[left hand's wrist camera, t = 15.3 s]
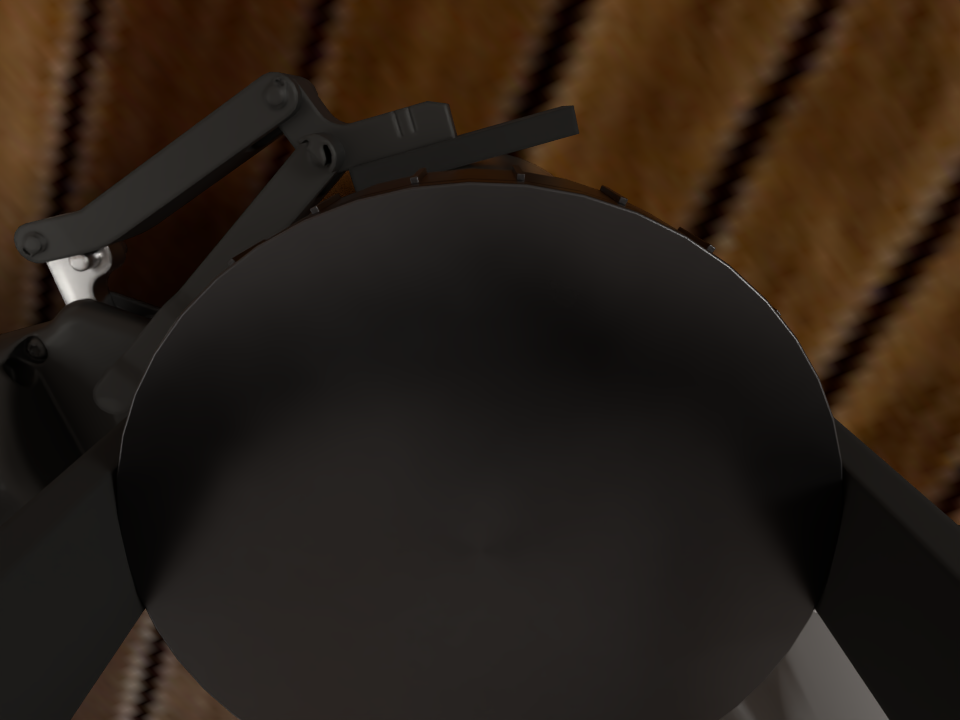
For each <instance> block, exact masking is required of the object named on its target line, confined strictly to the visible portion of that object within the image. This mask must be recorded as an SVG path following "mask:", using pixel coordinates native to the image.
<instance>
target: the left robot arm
mask: <svg viewBox="0 0 960 720" xmlns="http://www.w3.org/2000/svg"><path fill="white" fill-rule="evenodd" d="M833 418H834V417H833ZM126 420H127V417H126V418H125V419H123V420H122V421H121V422H120V423H119V424H118V425H116V426H115V427H114V428H113V429H112V430H111V431H110V432H108V433H107V434H106V435H105V436H104V437H103V438H102V439H100V440H99V441H98V442H97V443H96V444H95V445H93V446H92V447H91V448H90V449H89V450H88V451H87V452H85V453H84V454H83V455H82V456H81V457H80V458H78V459H77V460H76V461H75V462H74V463H73V464H72V465H70V466H69V467H68V468H67V469H66V470H65V471H64V472H62V473H61V474H60V475H59V476H58V477H57V478H55V479H54V480H53V481H52V482H51V483H50V484H49V485H47V486H46V487H45V488H44V489H43V490H42V491H40V492H39V493H38V494H37V495H36V496H35V497H34V498H32V499H31V500H30V501H29V502H28V503H27V504H26V505H24V506H23V507H22V508H21V509H20V510H19V511H17V512H16V513H15V514H14V515H13V516H12V517H11V518H9V519H8V520H7V521H6V522H5V523H4V524H2V525H1V526H0V720H71V718H72V717H73V715H74V714H75V712H76V711H77V709H78V708H79V706H80V705H81V703H82V702H83V700H84V699H85V697H86V696H87V694H88V693H89V691H90V690H91V688H92V687H93V685H94V684H95V682H96V681H97V679H98V678H99V677H100V675H101V674H102V672H103V671H104V669H105V668H106V666H107V665H108V663H109V662H110V660H111V659H112V657H113V656H114V654H115V653H116V651H117V650H118V648H119V647H120V645H121V644H122V642H123V641H124V639H125V638H126V636H127V635H128V633H129V632H130V630H131V629H132V627H133V626H134V624H135V623H136V621H137V620H138V618H139V617H140V615H141V614H142V612H143V611H144V609H145V606H144V604H143V602H142V600H141V598H140V596H139V595H138V592H137V589H136V586H135V583H134V580H133V578H132V575H131V572H130V569H129V565H128V561H127V558H126V553H125V549H124V544H123V540H122V535H121V531H120V526H119V521H118V503H117V471H118V463H119V455H120V447H121V439H122V433H123V430H124V426H125V423H126ZM834 421H835V427H836V432H837V437H838V443H839V448H840V453H841V459H842V475H843V509H842V517H841V524H840V531H839V536H838V540H837V545H836V549H835V553H834V557H833V561H832V565H831V569H830V573H829V576H828V580H827V582H826V585H825V587H824V589H823V591H822V593H821V596H820V598H819V600H818V602H817V604H816V607H815V609H814V611H813V613H812V615H811V617H810V619H809V621H808V622H807V624H806V625H805V627H804V629H803V630H802V632H801V633H800V635H799V636H798V638H797V640H796V641H795V643H794V644H793V646H792V648H791V649H790V650H789V652H788V653H787V654H786V655H785V657H784V658H783V659H782V660H781V661H780V663H779V664H778V665H777V666H776V667H775V669H774V670H773V671H772V672H771V674H770V675H769V676H768V677H767V678H766V680H765V681H763V682H762V683H761V684H760V685H759V686H758V687H757V688H756V689H755V690H754V691H753V692H752V693H751V694H750V695H749V696H748V697H747V698H746V699H745V700H744V701H742V702H741V703H740V704H739V705H738V706H737V707H736V708H734V709H733V710H732V711H730V712H729V713H728V714H727V715H725V716H724V717H723V718H721V719H720V720H960V525H957V524H956V523H955V522H954V521H952V520H951V519H950V518H949V517H948V516H947V515H946V514H944V513H943V512H942V511H941V510H940V509H939V508H938V507H936V506H935V505H934V504H933V503H932V502H931V501H929V500H928V499H927V498H926V497H925V496H924V495H923V494H921V493H920V492H919V491H918V490H917V489H916V488H915V487H913V486H912V485H911V484H910V483H909V482H908V481H906V480H905V479H904V478H903V477H902V476H901V475H900V474H898V473H897V472H896V471H895V470H894V469H893V468H891V467H890V466H889V465H888V464H887V463H886V462H885V461H883V460H882V459H881V458H880V457H879V456H878V455H877V454H875V453H874V452H873V451H872V450H871V449H870V448H868V447H867V446H866V445H865V444H864V443H863V442H862V441H860V440H859V439H858V438H857V437H856V436H855V435H853V434H852V433H851V432H850V431H849V430H848V429H847V428H845V427H844V426H843V425H842V424H841V423H840V422H839V421H837V420H836V419H835V418H834Z"/></svg>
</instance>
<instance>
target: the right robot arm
mask: <svg viewBox="0 0 960 720" xmlns="http://www.w3.org/2000/svg"><path fill="white" fill-rule="evenodd" d="M283 134H284V135H285V136H286V137H287V138H288V140H289V141H290V142H291V144H292V145H293V146H294V148H295V149H296V150H295V151H294V152H293V153H292V155H291V156H290V157H289V158H288V160H287V161H286V162H285V163H284V164H283V166H282V167H281V168H280V169H279V170H278V172H277V173H276V174H275V175H274V176H273V178H272V179H271V180H270V181H269V182H268V184H267V185H266V186H265V187H264V189H263V190H262V191H261V192H260V193H259V195H258V196H257V197H256V198H255V199H254V201H253V202H252V203H251V204H250V205H249V207H248V208H247V209H246V210H245V211H244V213H243V214H242V215H241V216H240V218H239V219H238V220H237V221H236V222H235V224H234V225H233V226H232V227H231V228H230V230H229V231H228V232H227V233H226V234H225V236H224V237H223V238H222V239H221V240H220V242H219V243H218V244H217V245H216V247H215V248H214V249H213V250H212V251H211V253H210V254H209V255H208V256H207V257H206V259H205V260H204V261H203V262H202V263H201V265H200V266H199V267H198V268H197V269H196V271H195V272H194V273H193V274H192V276H191V277H190V278H189V279H188V280H187V282H186V283H185V284H184V285H183V286H182V288H181V289H180V290H179V291H178V292H177V293H176V294H175V295H174V296H173V297H172V298H171V299H169V300H168V301H167V302H166V303H165V304H164V305H163V306H162V307H161V308H160V307H157V306H154V305H151V304H148V303H145V302H142V301H139V300H136V299H134V298H131V297H128V296H125V295H122V294H119V293H116V292H111V291H109V289H108V285H107V284H108V277H109V275H110V273H111V272H112V271H114V270H115V269H117V268H119V267H120V266H122V264H123V263H124V261H125V259H126V253H127V245H126V243H125V242H124V241H123V240H125V239H128V238H131V237H134V236H136V235H138V234H141V233H143V232H145V231H147V230H149V229H150V228H152V227H154V226H155V225H157V224H158V223H160V222H161V221H163V220H164V219H165V218H167V217H168V216H170V215H171V214H172V213H174V212H175V211H177V210H178V209H179V208H181V207H182V206H184V205H185V204H186V203H188V202H189V201H191V200H192V199H194V198H195V197H196V196H198V195H199V194H201V193H202V192H203V191H205V190H206V189H208V188H209V187H210V186H212V185H213V184H215V183H216V182H217V181H219V180H220V179H222V178H223V177H224V176H226V175H227V174H229V173H230V172H231V171H233V170H234V169H236V168H237V167H238V166H240V165H241V164H243V163H244V162H245V161H247V160H248V159H250V158H251V157H252V156H254V155H255V154H257V153H258V152H259V151H261V150H262V149H264V148H265V147H267V146H268V145H269V144H271V143H272V142H274V141H275V140H276V139H278V138H279V137H281V136H282V135H283ZM576 134H579V131H578V126H577V121H576V116H575V111H574V106H561V107H557V108H554V109H550V110H547V111H543V112H540V113H536V114H533V115H529V116H526V117H522V118H519V119H515V120H511V121H508V122H504V123H501V124H497V125H494V126H490V127H487V128H483V129H480V130H476V131H473V132H469V133H466V134H462V135H459V136H457V133H456V130H455V126H454V122H453V118H452V114H451V111H450V107H449V104H446V103H438V102H430V101H426V102H423V103H420V104H416V105H413V106H409V107H406V108H402V109H399V110H396V111H392V112H388V113H385V114H382V115H378V116H375V117H371V118H368V119H364V120H361V121H357V122H354V123H350V124H349V123H344V122H342V121H339V120H338V119H336V118H335V117H334V116H333V115H332V114H331V113H330V112H329V111H328V109H327V108H326V106H325V105H324V104H323V102H322V101H321V100H320V98H319V97H318V94H317V91H316V89H315V87H314V85H313V84H312V83H311V82H310V81H309V80H307V79H305V78H303V77H299V76H294V75H289V74H284V73H278V72H269V73H267V74H265V75H262V76H261V77H259V78H258V79H257V80H255V81H254V82H253V83H251V84H250V85H249V86H247V87H246V88H245V89H243V90H242V91H241V92H239V93H238V94H237V95H235V96H234V97H232V98H231V99H230V100H228V101H227V102H226V103H224V104H223V105H222V106H220V107H219V108H218V109H216V110H215V111H214V112H212V113H211V114H210V115H208V116H207V117H205V118H204V119H203V120H201V121H200V122H199V123H197V124H196V125H195V126H193V127H192V128H191V129H189V130H188V131H187V132H185V133H184V134H182V135H181V136H180V137H178V138H177V139H176V140H174V141H173V142H172V143H170V144H169V145H168V146H166V147H165V148H164V149H162V150H161V151H160V152H158V153H157V154H155V155H154V156H153V157H151V158H150V159H149V160H147V161H146V162H145V163H143V164H142V165H141V166H139V167H138V168H137V169H135V170H134V171H132V172H131V173H130V174H128V175H127V176H126V177H124V178H123V179H122V180H120V181H119V182H118V183H116V184H115V185H114V186H112V187H111V188H110V189H108V190H107V191H105V192H104V193H103V194H101V195H100V196H99V197H97V198H96V199H95V200H93V201H92V202H91V203H89V204H88V205H87V206H85V207H84V208H82V209H81V210H79V211H75V212H70V213H66V214H62V215H58V216H54V217H50V218H46V219H42V220H38V221H34V222H30V223H26V224H24V225H22V226H20V227H19V228H18V229H17V230H16V232H15V236H14V242H15V245H16V248H17V250H18V251H19V252H20V254H21V255H22V256H23V257H25V258H26V259H27V260H29V261H32V262H35V263H47V265H48V267H49V269H50V271H51V274H52V276H53V278H54V280H55V282H56V284H57V287H58V289H59V291H60V293H61V295H62V297H63V300H64V302H65V304H66V306H65V307H63V308H62V309H61V310H60V311H59V313H58V314H57V315H56V317H55V318H54V319H53V320H52V321H48V322H45V323H41V324H37V325H33V326H30V327H26V328H22V329H19V330H15V331H11V332H8V333H4V334H0V526H1V525H2V524H4V523H5V522H6V521H7V520H8V519H9V518H11V517H12V516H13V515H14V514H15V513H16V512H17V511H19V510H20V509H21V508H22V507H23V506H24V505H26V504H27V503H28V502H29V501H30V500H31V499H32V498H34V497H35V496H36V495H37V494H38V493H39V492H40V491H42V490H43V489H44V488H45V487H46V486H47V485H49V484H50V483H51V482H52V481H53V480H54V479H55V478H57V477H58V476H59V475H60V474H61V473H62V472H64V471H65V470H66V469H67V468H68V467H69V466H70V465H72V464H73V463H74V462H75V461H76V460H77V459H78V458H80V457H81V456H82V455H83V454H84V453H85V452H87V451H88V450H89V449H90V448H91V447H92V446H93V445H95V444H96V443H97V442H98V441H99V440H100V439H102V438H103V437H104V436H105V435H106V434H107V433H108V432H110V431H111V430H112V429H113V428H114V427H115V426H116V425H118V424H119V423H120V422H121V421H122V420H123V419H125V418H126V417H127V416H128V413H129V410H130V406H131V403H132V400H133V396H134V393H135V391H136V389H137V387H138V384H139V382H140V380H141V378H142V376H143V374H144V372H145V370H146V368H147V366H148V364H149V362H150V360H151V358H152V355H153V353H154V352H155V350H156V349H157V347H158V346H159V344H160V343H161V341H162V340H163V339H164V337H165V336H166V334H167V333H168V330H169V329H170V327H171V326H173V324H174V323H175V321H176V320H177V319H178V317H179V316H180V314H181V313H182V312H183V311H184V310H185V309H186V308H187V307H188V306H189V305H190V304H191V302H192V301H193V300H194V299H195V298H196V297H197V296H198V295H199V294H200V293H201V292H202V291H203V290H204V289H205V288H206V287H207V286H208V285H209V284H210V283H211V282H212V281H213V280H214V279H215V277H217V276H218V275H219V274H221V273H222V272H223V271H225V270H226V269H227V268H228V267H230V265H229V264H228V263H227V262H228V261H229V260H230V259H232V258H233V257H235V256H237V255H238V254H240V253H242V252H243V251H245V250H247V249H248V248H250V247H252V246H253V245H255V244H257V243H259V242H260V241H262V240H264V239H265V240H267V239H269V238H270V237H272V236H274V235H275V234H277V233H279V232H280V231H282V230H284V229H285V228H287V227H289V226H290V225H292V224H294V223H295V222H297V221H299V220H301V219H303V218H304V217H306V216H308V215H309V214H310V213H311V210H310V208H312V207H314V206H316V205H317V204H318V203H319V202H320V201H321V200H322V199H323V198H324V196H325V195H326V194H327V193H328V192H329V191H330V190H331V188H332V187H333V186H334V185H335V184H336V183H337V181H338V180H339V179H340V178H341V177H342V176H343V175H344V173H345V172H346V171H347V170H349V172H350V175H351V178H352V181H353V184H354V187H355V191H356V192H358V191H360V190H363V189H366V188H368V187H371V186H373V185H376V184H379V183H383V182H387V181H392V180H396V179H400V178H404V177H409V176H413V175H414V174H415V173H416V172H417V171H418V170H419V169H420V168H426V170H427V173H429V172H439V171H446V170H450V169H454V168H457V167H461V166H464V165H468V164H472V163H475V162H479V161H482V160H486V159H490V158H493V157H497V156H500V155H504V154H507V153H511V152H515V151H518V150H522V149H525V148H529V147H533V146H536V145H540V144H543V143H547V142H551V141H554V140H558V139H561V138H565V137H569V136H572V135H576Z"/></svg>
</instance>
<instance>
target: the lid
mask: <svg viewBox="0 0 960 720" xmlns="http://www.w3.org/2000/svg"><path fill="white" fill-rule="evenodd" d="M627 201H628V199H626V198H625V197H623V196H621V195H620V194H618V193H616V192H615V191H613V190H611V189H610V188H608V187H606V186H603V185H602V186H601V189H600V190H597V189H594V188H591V187H588V186H585V185H582V184H579V183H576V182H573V181H570V180H567V179H562V178H557V177H551V176H546V175H540V174H535V173H529V172H524V171H522V169H521V168H520V167H519V166H518V165H512V170H494V169H461V170H450V171H439V172H429V173H427V170H426V168H420V169H419V170H418V171H417V172H416V173H415V174H414V175H413V176H409V177H404V178H400V179H396V180H392V181H387V182H383V183H379V184H376V185H373V186H371V187H368V188H366V189H363V190H360V191H358V192H355V193H353V194H350V195H347V196H345V197H342V198H341V197H340V195H339V193H338V194H335V195H333V196H331V197H330V198H328V199H326V200H324V201H323V202H321V203H319V204H317V205H316V206H314V207H312V208H310V210H311V212H312V213H311V214H310V215H308V216H306V217H304V218H303V219H301V220H299V221H297V222H295V223H294V224H292V225H290V226H289V227H287V228H285V229H284V230H282V231H280V232H279V233H277V234H275V235H274V236H272V237H270V238H269V239H267V240H265V239H264V240H262V241H260V242H259V243H257V244H255V245H253V246H252V247H250V248H248V249H247V250H245V251H243V252H242V253H240V254H238V255H237V256H235V257H233V258H232V259H230V260H229V261H228V262H227V263H228V264H229V265H230V267H228V268H227V269H226V270H225V271H223V272H222V273H221V274H219V275H218V276H217V277H215V279H214V280H213V281H212V282H211V283H210V284H209V285H208V286H207V287H206V288H205V289H204V290H203V291H202V292H201V293H200V294H199V295H198V296H197V297H196V298H195V299H194V300H193V301H192V302H191V304H190V305H189V306H188V307H187V308H186V309H185V310H184V311H183V312H182V313H181V314H180V316H179V317H178V319H177V320H176V321H175V323H174V324H173V326H171V327H170V329H169V330H168V333H167V334H166V336H165V337H164V339H163V340H162V341H161V343H160V344H159V346H158V347H157V349H156V350H155V352H154V353H153V355H152V358H151V360H150V362H149V364H148V366H147V368H146V370H145V372H144V374H143V376H142V378H141V380H140V382H139V384H138V387H137V389H136V391H135V393H134V396H133V400H132V403H131V406H130V410H129V413H128V416H127V420H126V423H125V426H124V430H123V433H122V439H121V447H120V455H119V463H118V471H117V503H118V521H119V526H120V531H121V535H122V540H123V544H124V549H125V553H126V558H127V561H128V565H129V569H130V572H131V575H132V578H133V580H134V583H135V586H136V589H137V592H138V595H139V596H140V598H141V600H142V602H143V604H144V606H145V608H146V610H147V612H148V614H149V616H150V618H151V620H152V622H153V624H154V626H155V628H156V629H157V631H158V632H159V634H160V635H161V636H162V638H163V639H164V641H165V642H166V644H167V645H168V647H169V648H170V649H171V651H172V652H173V654H174V655H175V657H176V658H177V659H178V661H179V662H180V663H181V664H182V665H183V666H184V667H185V669H186V670H187V671H188V672H189V673H190V674H191V675H192V676H193V677H194V679H195V680H196V681H197V682H198V683H199V684H200V685H201V686H202V687H203V689H204V690H206V691H207V692H208V693H209V694H210V695H211V696H212V697H214V698H215V699H216V700H217V701H218V702H219V703H220V704H222V705H223V706H224V707H225V708H226V709H227V710H228V711H230V712H231V713H232V714H233V715H234V716H236V717H237V718H239V719H240V720H720V719H721V718H723V717H724V716H725V715H727V714H728V713H729V712H730V711H732V710H733V709H734V708H736V707H737V706H738V705H739V704H740V703H741V702H742V701H744V700H745V699H746V698H747V697H748V696H749V695H750V694H751V693H752V692H753V691H754V690H755V689H756V688H757V687H758V686H759V685H760V684H761V683H762V682H763V681H765V680H766V678H767V677H768V676H769V675H770V674H771V672H772V671H773V670H774V669H775V667H776V666H777V665H778V664H779V663H780V661H781V660H782V659H783V658H784V657H785V655H786V654H787V653H788V652H789V650H790V649H791V648H792V646H793V644H794V643H795V641H796V640H797V638H798V636H799V635H800V633H801V632H802V630H803V629H804V627H805V625H806V624H807V622H808V621H809V619H810V617H811V615H812V613H813V611H814V609H815V607H816V604H817V602H818V600H819V598H820V596H821V593H822V591H823V589H824V587H825V585H826V582H827V580H828V576H829V573H830V569H831V565H832V561H833V557H834V553H835V549H836V545H837V540H838V536H839V531H840V524H841V517H842V509H843V475H842V459H841V453H840V448H839V443H838V437H837V432H836V427H835V421H834V418H833V415H832V412H831V409H830V407H829V404H828V401H827V398H826V396H825V393H824V390H823V387H822V385H821V382H820V379H819V377H818V375H817V373H816V371H815V370H814V368H813V366H812V364H811V362H810V361H809V359H808V357H807V355H806V354H805V352H804V350H803V348H802V346H801V345H800V343H799V341H798V339H797V337H796V336H795V335H794V334H793V332H792V331H791V330H790V329H789V327H788V326H787V325H786V323H785V322H784V321H783V320H782V318H781V317H780V315H781V314H780V313H779V312H778V310H776V309H775V308H773V307H772V306H771V304H770V303H769V302H768V301H767V299H765V298H764V297H763V296H762V295H761V294H760V293H759V292H758V291H757V290H756V289H755V288H754V287H753V286H752V285H750V284H749V283H748V282H747V281H746V280H745V279H744V278H743V277H742V276H741V275H740V274H739V273H738V272H737V271H735V270H734V269H733V268H732V267H731V266H730V265H729V264H727V263H726V262H724V261H723V260H721V259H720V258H718V257H717V256H716V255H714V254H713V253H712V252H713V251H714V250H715V248H714V247H713V246H712V245H710V244H709V243H707V242H705V241H703V240H702V239H700V238H698V237H697V236H695V235H693V234H691V233H690V232H688V231H686V230H684V229H683V228H681V227H679V228H678V230H676V229H675V228H673V227H671V226H670V225H668V224H667V223H665V222H663V221H662V220H660V219H658V218H657V217H655V216H653V215H652V214H650V213H648V212H646V211H644V210H642V209H640V208H638V207H636V206H634V205H632V204H630V203H628V202H627Z"/></svg>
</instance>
